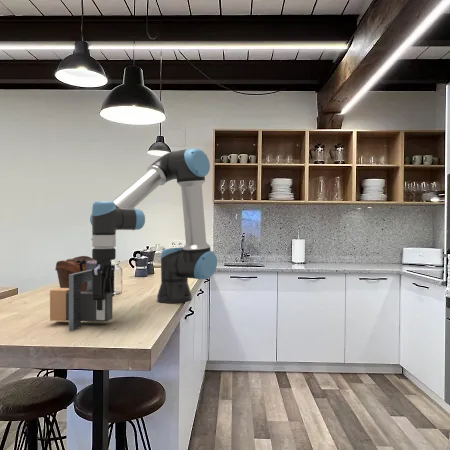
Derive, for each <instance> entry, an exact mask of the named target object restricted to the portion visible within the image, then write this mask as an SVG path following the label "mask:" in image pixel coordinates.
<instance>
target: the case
mask: <svg viewBox="0 0 450 450" xmlns="http://www.w3.org/2000/svg"><path fill="white" fill-rule="evenodd" d="M83 259H84V260H87V261H92V260H93V259H92V256H91V257H90V256H88V255H81V256H76V257H73V258H68V259H66V260H65V259H64V260H58V261H57V262H56V264H55V271H56V274H57V279H58V284H59V288H69V274H73V273H78V272H81V271H80V263H81V262H82V261H83ZM82 268H83V271H86V270H87V269H86V265H85V264H82ZM81 291H83V292H86V291H87V282H85V283H81Z"/></svg>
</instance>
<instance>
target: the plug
mask: <svg viewBox="0 0 450 450" xmlns="http://www.w3.org/2000/svg"><path fill="white" fill-rule="evenodd" d="M104 300H105V320H96V300H93V292H83V291H81V322H103V323H105V322H109V321H112V319H113V315H114V314H113V305H114V304H113V302H114V301H113V292H104ZM49 320H50V322H51V321H53V322H67V321H68V322H69V288H60V287H57V288H54V289H50V290H49Z"/></svg>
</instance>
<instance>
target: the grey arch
mask: <svg viewBox="0 0 450 450" xmlns="http://www.w3.org/2000/svg"><path fill="white" fill-rule="evenodd" d="M85 282H87V292H93V274H92V269H91V270H86V271H82V272H78V273H73V274H69V321H68V331H71V332H72V331H76V330H78V329H80V328H82V321H81V283H85Z"/></svg>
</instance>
